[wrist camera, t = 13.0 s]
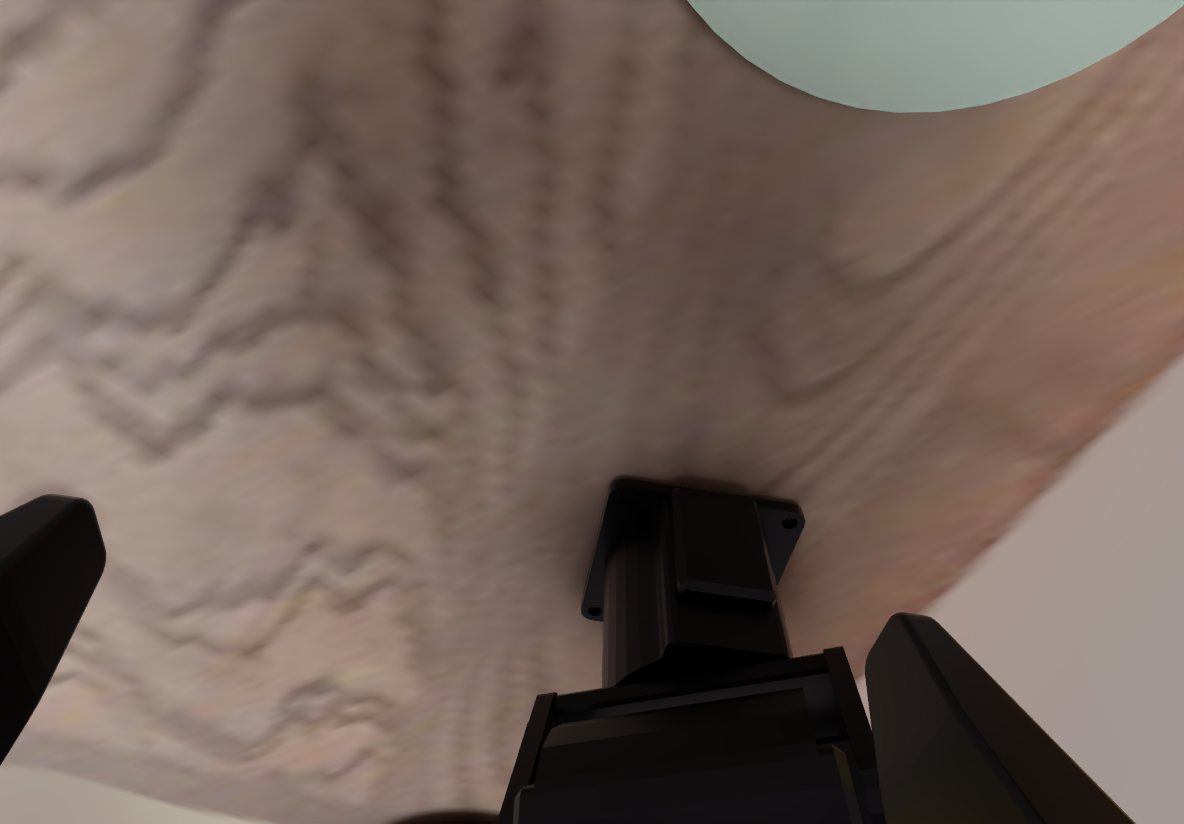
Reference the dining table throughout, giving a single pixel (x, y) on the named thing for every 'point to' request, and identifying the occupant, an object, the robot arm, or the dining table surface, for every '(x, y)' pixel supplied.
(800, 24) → the dish
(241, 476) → the dining table surface
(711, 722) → the robot arm
